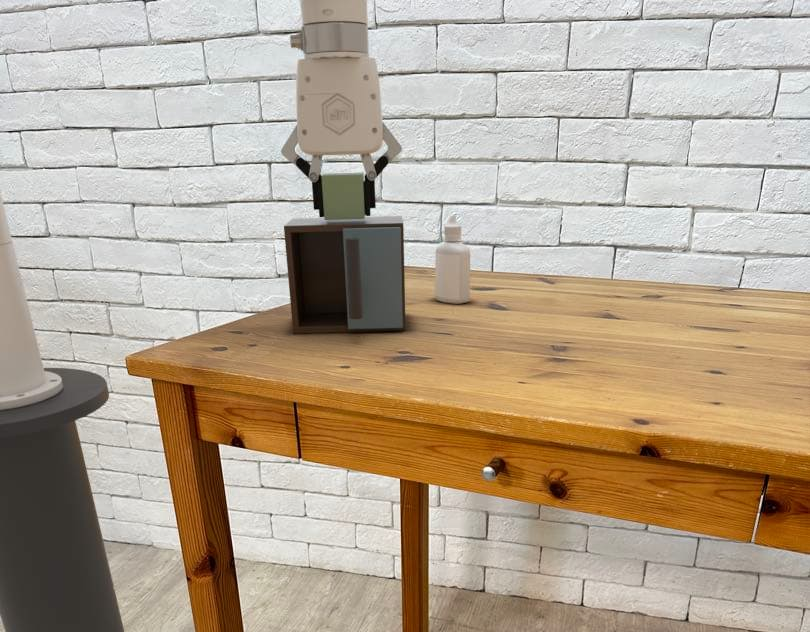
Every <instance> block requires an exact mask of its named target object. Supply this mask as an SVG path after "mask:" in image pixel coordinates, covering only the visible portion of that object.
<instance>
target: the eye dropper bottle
mask: <svg viewBox="0 0 810 632" xmlns="http://www.w3.org/2000/svg"><path fill="white" fill-rule="evenodd" d="M449 216H450V217H449V222H448V223H447V224H446V225H444V242H441V243H440V244H438V245H437V246H436V248H435V255H434V256H435V258H434V266H435V267H434V270H435V271H434V280H435V281H434V289H435V291H434V295H435V300H436V301H439V302H441V303H444V304H446V303H447V304H452V305H453V304H454V305H455V304H456V305H461V304H466V303H468V302H470V297H471V296H470V295H471V250H470V248H469V247H468V246H467V245H466V244H464V243H463V242H461V241H462V225H460V224H458V221H457V217H456V215H454V214H453V215H449Z"/></svg>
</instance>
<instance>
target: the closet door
mask: <svg viewBox="0 0 810 632" xmlns="http://www.w3.org/2000/svg"><path fill="white" fill-rule="evenodd" d="M343 242H344V260H345V279H346V297H347V315H348V329H378V328H403V315H402V269H401V228H400V227H378V228H343Z"/></svg>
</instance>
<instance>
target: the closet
mask: <svg viewBox="0 0 810 632" xmlns="http://www.w3.org/2000/svg"><path fill="white" fill-rule="evenodd" d="M378 227H400V228H401V269H402V315H403V328H378V329H348V315H347V297H346V279H345V260H344V242H343V228H378ZM404 227H405V225H404V219H403V216H402V215H394V216H393V215H390V216H389V215H388V216H386V215H385V216H365V219H345V220H324V217H308V218H307V217H306V218H304V217H303V218H291V219H290V220H289V221H288V222H286V224H284V225H283V233H284V234H283V235H284V243H285V257H286V265H287V266H286V267H287V279H288V289H289V291H288V292H289V300H290V301H289V302H290V313H291V324H292V334H326V333H327V334H328V333H329V334H330V333H366V332H369V333H370V332H405V331H406V329H407V327H406V285H405V284H406V281H405V276H406V275H405V236H404V235H405V230H404V229H405V228H404Z"/></svg>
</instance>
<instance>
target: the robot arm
mask: <svg viewBox="0 0 810 632" xmlns="http://www.w3.org/2000/svg"><path fill="white" fill-rule="evenodd" d="M299 1H300V2H299V3H300V4H299V5H300V16H301V30H300V31H299V32H296V34H290V35H289V40H290V41H289V42H290V48H291V49H297V50H298V51H299V50H300V51H301V52H303V53H302V54H303V56H304V57H303V58H301V59H298V60H297V65H296V76H295V77H296V79H295V98H296V100H295V109H296V126H295V127H294V129H293V130H292V132H291V133H290V134H289V137H288V138H287V140H286V141H285V143H284V144H283V146H282V148H281V150H280V153H281V155H282V156H283V157H284V158H285V159H287V160H288V161H289V162H290V163H291V164H293V165H294V166H295V167H296V168H297V169H298V170H300V171H301V173H302V174H303V175H304V176H305V177H307V178H308V180H309V181H310V182H311V191H312V203H313V204H312V205H313V210H314V211H317V210H318V216H319V217H318V218H324V206H323V191H322V169H323V164H324V160H325V156H342V155H343V156H344V155H345V156H347V155H348V156H349V155H359V156H360V159H361V162H362V166H363V169H364V171H365V173H364V182H363V186H364V209H365V217H371V209H376V208H377V207H376V205H377V203H376V180H377V178H378V176H379V175H380V174H381V173H382V172H383V171H384V169H385V168H386V167H387V166H388V165H389V164H390V163H391V162H392V161H393V160H395V158H397V156H398V155H399V154H401V152H402V150H403V147H402V145H401V144H400V142H398V140H397V139H396V137H395V136H394V135H393V133H392V132H391V131H390V129H389V128H388V126H386V124H385V123H384V122H383V109H382V107H383V106H382V97H381V96H382V95H381V85H380V84H381V83H380V78H379V77H380V76H379V70H378V65H377V61H376V58H375V57H370V49H369V46H370V45H369V26H368V25H369V19H368V0H299ZM383 143H385V144H386V145H387V149H386V151H385V152H384V153H383V154H382V155H380V157H379V158H378V159H377V160H376V161H375V163H374V160H373V159H374V158H373V156H372V154H374V153H376V152H378V151H379V150H381V148H382V147H383V145H384V144H383ZM297 147H299V150H300V151H301V152H302V153H304V154H306V155H310V156H312V157H311V162H309V161H308V160H307V159H306V158H304V157H303V156H302V155H300V154H299V153H298V151H297ZM2 197H3V196H2V192H1V190H0V411H2V410H8V409H14V408H19V407H24V406H28V405H32V404H35V403H38V402H41V401H44V400H47V399H49V398H51V397H53V396H55V395H57V394H58V393H59V392H60V391H61V390H62V389H63V383H62V379H61V377H60V376H59V375H57V374H55V373H52V372H47V371H44V368H45V367H44V364H43V360H42V357H41V352H40V349H39V348H40V347H39V344H38V340H37V335H36V332H35V328H34V324H33V319H32V316H31V310H30V306H29V303H28V300H27V299H28V298H27V295H26V291H25V287H24V281H23V279H22V274H21V271H20V270H21V269H20V266H19V262H18V258H17V253H16V250H15V249H16V248H15V246H14V242H13V240H12V234H11V231H10V226H9V222H8V219H7V214H6V210H5V206H4V205H5V204H4V201H3V198H2Z"/></svg>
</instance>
